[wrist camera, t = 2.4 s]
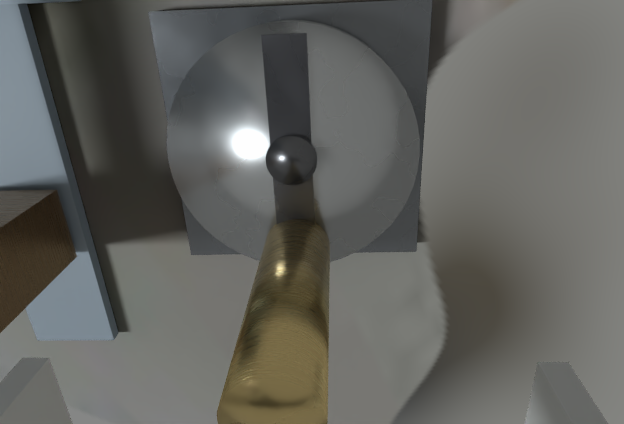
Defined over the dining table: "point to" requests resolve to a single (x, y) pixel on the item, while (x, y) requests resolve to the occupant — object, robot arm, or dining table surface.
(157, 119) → the dining table surface
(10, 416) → the robot arm
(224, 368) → the dining table surface
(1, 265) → the post in wooden base
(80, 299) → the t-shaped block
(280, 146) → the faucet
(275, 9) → the wheel stand
